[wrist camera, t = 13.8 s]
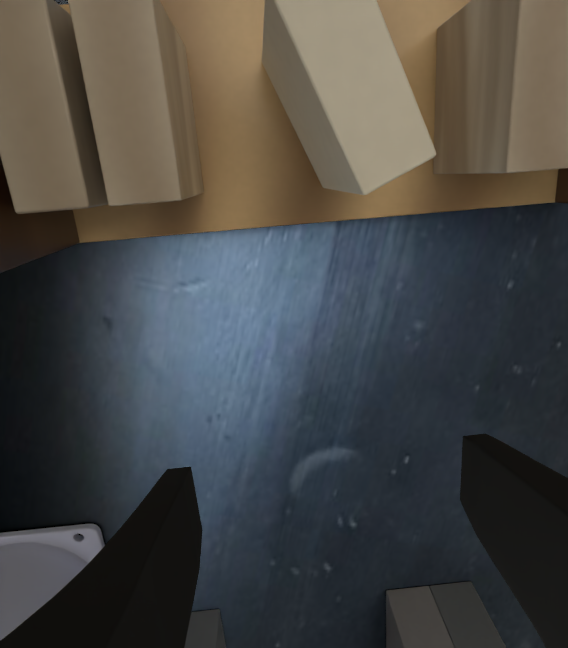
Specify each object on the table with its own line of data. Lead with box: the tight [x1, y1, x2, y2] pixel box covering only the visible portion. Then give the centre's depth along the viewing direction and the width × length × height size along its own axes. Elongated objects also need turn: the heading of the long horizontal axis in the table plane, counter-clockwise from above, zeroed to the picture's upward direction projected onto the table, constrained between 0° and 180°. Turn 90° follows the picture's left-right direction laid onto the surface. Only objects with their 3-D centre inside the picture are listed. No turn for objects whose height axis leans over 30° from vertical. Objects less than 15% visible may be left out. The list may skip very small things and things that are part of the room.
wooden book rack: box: [0, 0, 568, 273], centre depth 14 cm, size 21×8×8 cm, turn 94°
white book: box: [262, 0, 436, 195], centre depth 13 cm, size 2×5×7 cm, turn 28°
